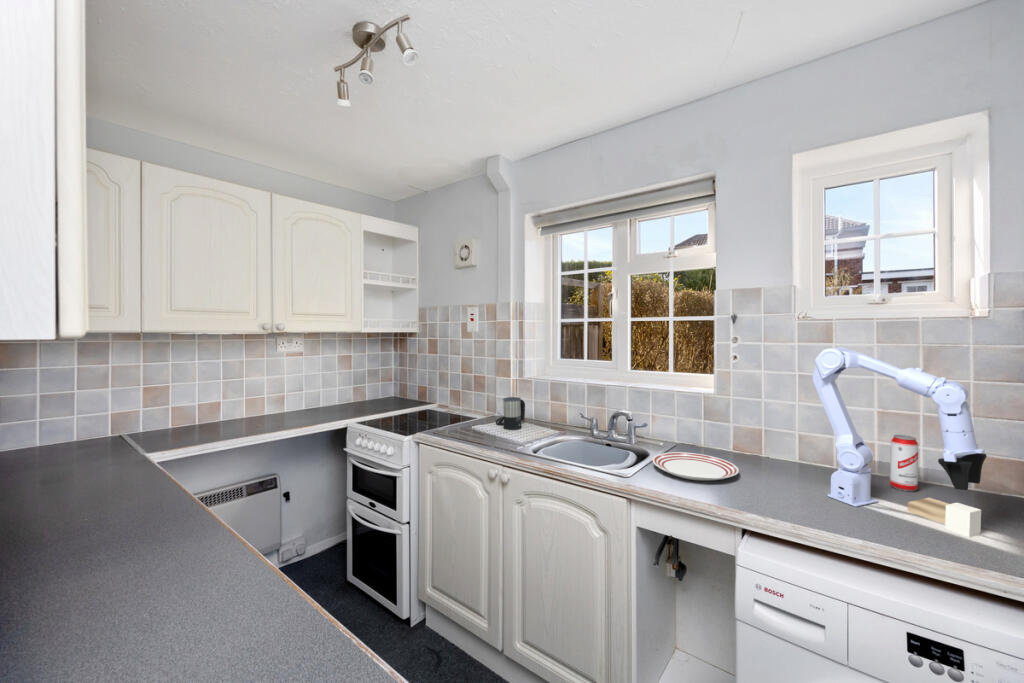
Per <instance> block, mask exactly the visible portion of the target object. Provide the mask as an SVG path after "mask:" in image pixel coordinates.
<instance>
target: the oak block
mask: <svg viewBox="0 0 1024 683" xmlns="http://www.w3.org/2000/svg"><path fill="white" fill-rule="evenodd" d="M949 504H950V503H948V502H946V501H942V500H938V499H936V498H932V497H925V498H920V499H917V500H912V501H908V502H907V509H906V511H908V512H907V513H910V512H911V513H910V514H913V513H914V514H913V515H915V514H917V515H916V516H918V515H920V516H919V517H921V516H923V517H922V518H924V517H925V518H924V519H927V518H928V519H927V520H930V519H931V520H930V521H933V520H934V521H933V522H936V521H938V522H937V523H939V522H940V523H939V524H942V523H944V524H945V514H946V505H949ZM944 524H943V525H944Z"/></svg>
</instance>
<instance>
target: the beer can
mask: <svg viewBox="0 0 1024 683" xmlns="http://www.w3.org/2000/svg"><path fill="white" fill-rule="evenodd" d="M889 459H890V460H889V462H890V465H889V485H890V486H891V487H892V488H893V487H894V488H893V489H895V488H896V489H895V490H898V489H900V490H899V491H901V490H904V491H903V492H907V491H913V492H915V491H916V490H917V489H918V481H919V478H918V477H919V473H918V472H919V443H918V441H917V437H915V436H911V435H906V434H894V435H893V437H892V438H891V441H890V458H889Z"/></svg>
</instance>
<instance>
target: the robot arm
mask: <svg viewBox="0 0 1024 683" xmlns="http://www.w3.org/2000/svg"><path fill="white" fill-rule="evenodd" d="M814 362H815V363H814V364H815V365H814V370H813V374H812V378H811V379H812V383H813V385H814V388H815V390H816V392H817V395H818V397H819V399H820V402H821V404H822V406H823V409H824V411H825V413H826V414H825V415H826V416H827V419H828V422H829V423H830V426H831V428H832V431H833V433H834V435H835V448H836V451H837V453H836V454H837V455H836V460H837V462H838V469H837V470H836V471H834V472H833V473H832V474H831V476H830V493H828V494H827V497H829V498H832V499H834V500H836V501H840V502H841V503H845V504H847V505H850V506H853V507H861V506H865V505H870V504H874V503H875V504H876V503H879V500H878V499H875V498H874V497H871V488H872V487H871V486H872V485H871V484H872V469H871V467H870V465H869V463H871V462H872V461H873V459H874V453H873V451H872V449H871V448H870V446H868V444H866V443H865V441H864V439H863V437H862V436H861V435H859V434H858V432H857V430H856V428H855V427H856V426H855V425H854V422H853V420H852V417H851V416H850V414H849V411H848V409H847V406H846V404H845V402H844V400H843V397H842V394H841V392H840V390H839V387H838V386H837V383H836V380H838V377H839V376H840V374H842V372H843V371H844V370H846V369H853V368H862V369H865V370H867V371H869V372H870V371H871V372H873V373H876V374H879V375H880V376H881V375H882V376H884V377H887V378H890V379H893V380H895V382H896V383H897V385H898V386H899V388H903V389H906V390H908V391H910V392H913V393H914V394H918V395H921V396H923V397H925V398H932V400H933V401H934V402H935V403H936V404H937V409H938V412H937V415H938V419H939V420H938V421H939V425H940V432H941V436H942V443H943V453H942V455H943V458H942V457H941V458H938V459H937V461H938V465H940V466H941V467H942V468H943V469H944V470H945V472H946V474H947V475H948V478H949V480H950V481H951V484H952V485H953V487H954V489H955V490H961V491H962V490H963V491H968V489H969V483H970V484H980V482H981V479H982V478H981V477H982V468H983V465H984V462H985V460H986V458H987V454H986V453H985V449H982V448H979V447H978V446H979V445H978V444H977V440H976V435H975V429H974V425H973V420H972V415H971V414H972V413H971V411H970V410H969V409H970V406H969V404H968V401H967V399H968V397H969V391H968V389H967V387H966V386H965V385H963V384H961V383H959V382H958V381H956V380H948V378H947V377H945V376H941V377H939V376H936V375H933V374H931V373H928V372H925V371H924V368H921V367H920V366H919V367H916V368H914V367H912V366H911V367H907V368H900V367H899V366H895V365H893V364H890V363H888V362H885V361H884V360H881V359H878V358H875V357H873V356H871V355H869V354H865V353H863V352H860V351H859V350H858V351H857V350H854V349H848V348H847V347H842V346H839V347H835V348H825V349H823V350H822V351H821V352H820V353H819V354H818V355H817V357H816V358H815V359H814Z"/></svg>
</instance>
